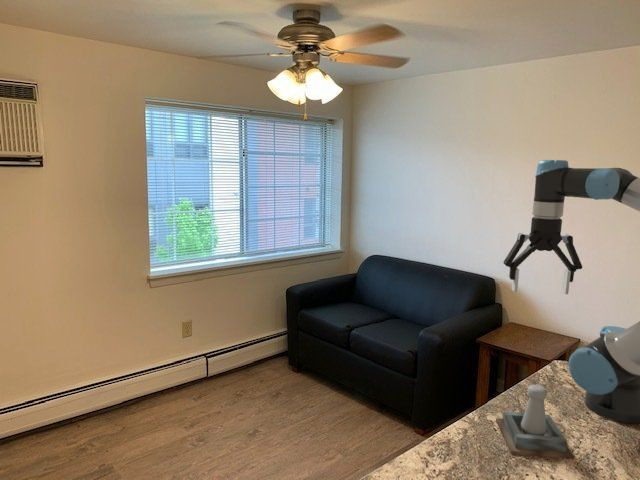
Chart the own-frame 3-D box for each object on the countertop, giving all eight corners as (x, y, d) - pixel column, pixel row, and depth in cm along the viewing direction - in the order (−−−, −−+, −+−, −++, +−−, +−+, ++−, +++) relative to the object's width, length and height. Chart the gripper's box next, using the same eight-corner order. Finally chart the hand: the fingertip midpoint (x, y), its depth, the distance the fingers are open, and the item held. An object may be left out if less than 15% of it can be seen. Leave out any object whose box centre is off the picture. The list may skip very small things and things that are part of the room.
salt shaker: (548, 444, 113) (553, 394, 110) (522, 441, 114) (527, 391, 111) (541, 430, 118) (547, 382, 116) (518, 427, 119) (522, 380, 117)
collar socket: (551, 425, 122) (552, 412, 122) (573, 459, 108) (575, 445, 108) (495, 420, 124) (497, 408, 123) (510, 453, 110) (512, 440, 109)
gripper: (589, 216, 130) (580, 290, 133) (496, 214, 132) (490, 286, 136) (601, 220, 122) (592, 297, 126) (503, 217, 125) (496, 293, 129)
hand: (539, 292), depth 131 cm, fingers open, 13 cm apart
